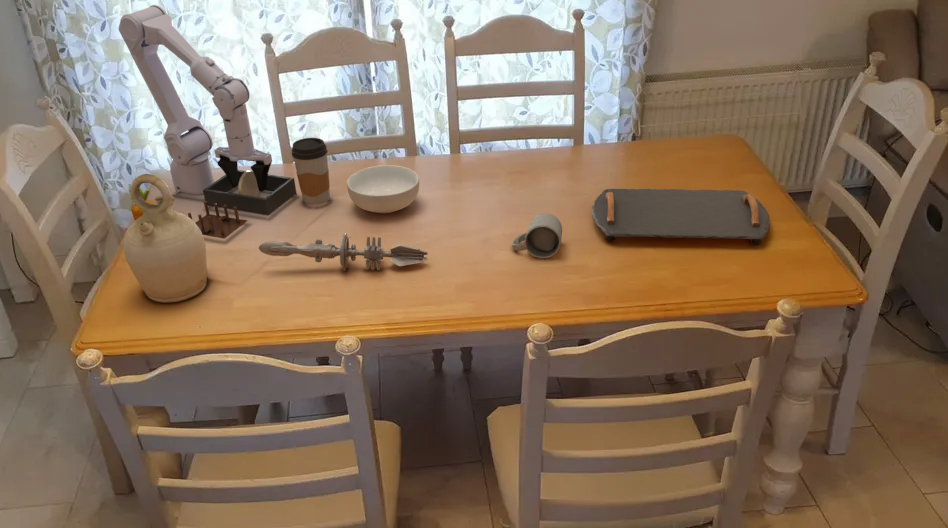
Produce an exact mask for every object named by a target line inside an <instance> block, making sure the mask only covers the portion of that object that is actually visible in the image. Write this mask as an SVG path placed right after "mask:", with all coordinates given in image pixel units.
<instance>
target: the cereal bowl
mask: <svg viewBox="0 0 948 528" xmlns="http://www.w3.org/2000/svg"><path fill="white" fill-rule="evenodd" d="M346 188H347V192H348V195H349V197H350V199H351V201H352V203H354V204H355V205H356V206H357V207H358V208H360V209H362V210H364V211H367V212H370V213H376V214H382V215H383V214H390V213H391V214H392V213H394V212H398V211H400V210H402V209H404V208H406V207H408V206H410V205H411V204H412V203H413V202H414V201H415V199H416V198H417V197H418V194H419V191H420V177H419V175H418V174H417V172H416V171H414V170H413V169H411V168H408V167H406V166H402V165H395V164H380V165H379V164H378V165H373V166H369V167H368V166H367V167H365V168H361V169H360V170H356V171H355V172H354V173H352V174H351V175H350V176H349V177H348V178H347V180H346Z"/></svg>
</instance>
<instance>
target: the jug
mask: <svg viewBox="0 0 948 528" xmlns="http://www.w3.org/2000/svg"><path fill="white" fill-rule="evenodd" d="M143 184H150V185H152V186H154V187H155V188H156V189H157V190H158V191H159V192H160V195H159V196H158V195H157V196H155V197H154V201H156V204H154V205H152V204H150V203H148V202H146V201H147V200H146V201H145V200H144V199H143V198H142V196H141V194H140V189H141V188H140V187H141V186H142V185H143ZM129 190H130V191H129V192H130V199H131V198H132V199H131V200H132V202H133V203H134V204H135V205H136V206H137V207H138V208H140V209H141V210H143V215H142V216H141V217H139V218H138V219H137V220H134V221H133V222H132V223H131V224H130V226H129V227H128V228H127V229H126V232H125V234H124V239H123V252H124V257H125V261H126V263H127V265H128V267H129V268H130V271H131V272H132V274H133V276H134V277H135V279H136V281H137V282H138V284H139V286H140V287H141V289H142V290H143V292H144V293H145V295H146V296H147V298H149V299H150V300H152V301H154V302H157V303H160V304H161V303H162V304H169V303H170V304H172V303H179V302H182V301H186V300H189V299H191V298H194V297H196V296H198V295H199V294H200V293H201V292H202V291H204V289H206V286H207V282H208V279H207V278H208V264H207V262H208V261H207V245H206V241H205V238H204V235H202V232H201V231H200V229H199V227H198V226H197V225H196V222H194V219H193V218H192V219H191V218H189V217H188V215H187V214H183V213H182V212H177V211H175V210H173V206H174V203H175V202H176V201H175V200H176V197H174V196H172V192H171V190H170V188H169V186H168V184H167V183H166V182H165V181H164V180H163V179H162V178H160V177H159V176H157V175H155V174H152V173H151V174H150V173H144V174H140V175H138V176H137V177H135V178H134V179H133V180H132V182H131V184H130V188H129Z"/></svg>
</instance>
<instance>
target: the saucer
mask: <svg viewBox="0 0 948 528" xmlns="http://www.w3.org/2000/svg"><path fill="white" fill-rule="evenodd" d="M245 171H246V172H244V173H243V174H242V176H241V178H240V180H239V185H238V186H237V189H238V190H237V191H238V194H241V195H247V196H253V197H259V193H260V191H259V189H258V185H257V181H256V177H255V175H254V173H253V171H252V170H245Z"/></svg>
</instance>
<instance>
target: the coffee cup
mask: <svg viewBox="0 0 948 528" xmlns="http://www.w3.org/2000/svg"><path fill="white" fill-rule="evenodd" d="M327 147H328V146H327V144H326V143H325V141H324V139H322V138H319V137H305V138H301V139H298V140H296V141H294V142H293V143H292V148H291V156H292V158H293V162H294V166H295V172H296V176H297V180H298V185H299V189H300V192H301V196H302V200H303V201H304V203H306V204H309V205H310V204H311V205H318V204H323V203H325V202H327V201H330V200H331V190H330V170H329V163H328V161H329V160H328V152H329V151H328V149H327Z"/></svg>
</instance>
